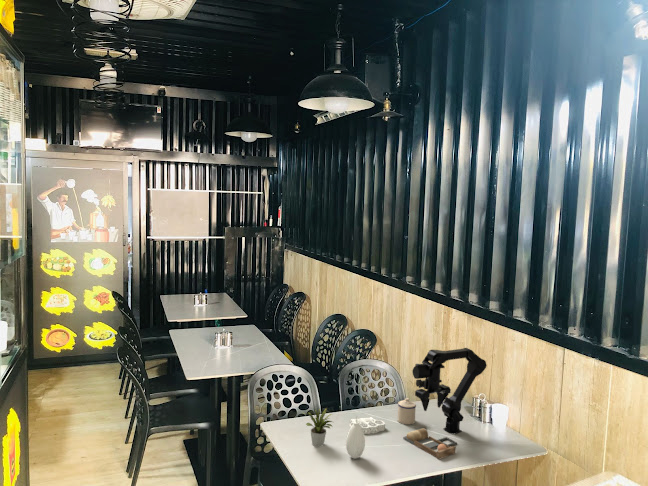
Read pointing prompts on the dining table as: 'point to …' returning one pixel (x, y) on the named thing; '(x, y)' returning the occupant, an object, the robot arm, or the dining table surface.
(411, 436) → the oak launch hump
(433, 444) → the runway mat
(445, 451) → the walnut lane
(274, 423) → the dining table surface
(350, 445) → the white vase
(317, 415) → the house plant
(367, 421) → the white paint palette
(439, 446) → the ball
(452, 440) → the grey square frame
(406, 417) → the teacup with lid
